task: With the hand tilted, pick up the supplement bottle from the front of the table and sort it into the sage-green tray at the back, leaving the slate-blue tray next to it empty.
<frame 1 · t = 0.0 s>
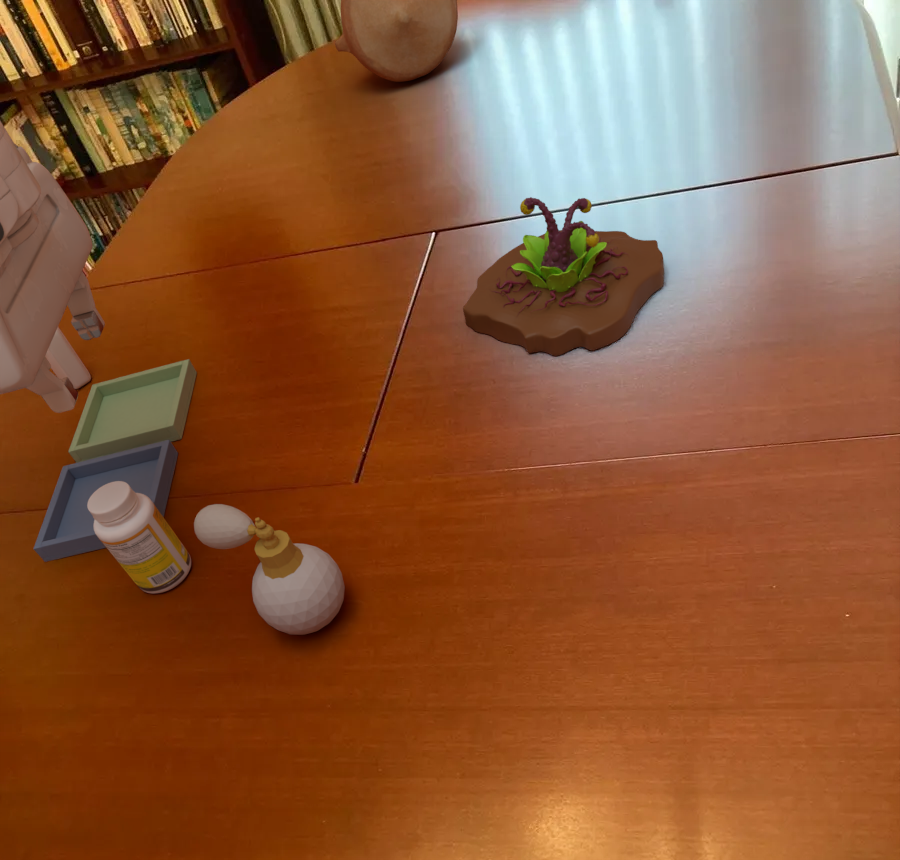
hand: (82, 368, 67), 21 cm above the table, tool pointing down, fingers open, 8 cm apart
perfume bottle: (302, 618, 75), on the table
eye dropper bottle: (77, 380, 111), on the table
plant: (564, 299, 96), on the table
supplement bottle: (167, 575, 83), on the table
green tray: (139, 417, 102), on the table
blue tray: (113, 505, 92), on the table
jug: (411, 63, 154), on the table
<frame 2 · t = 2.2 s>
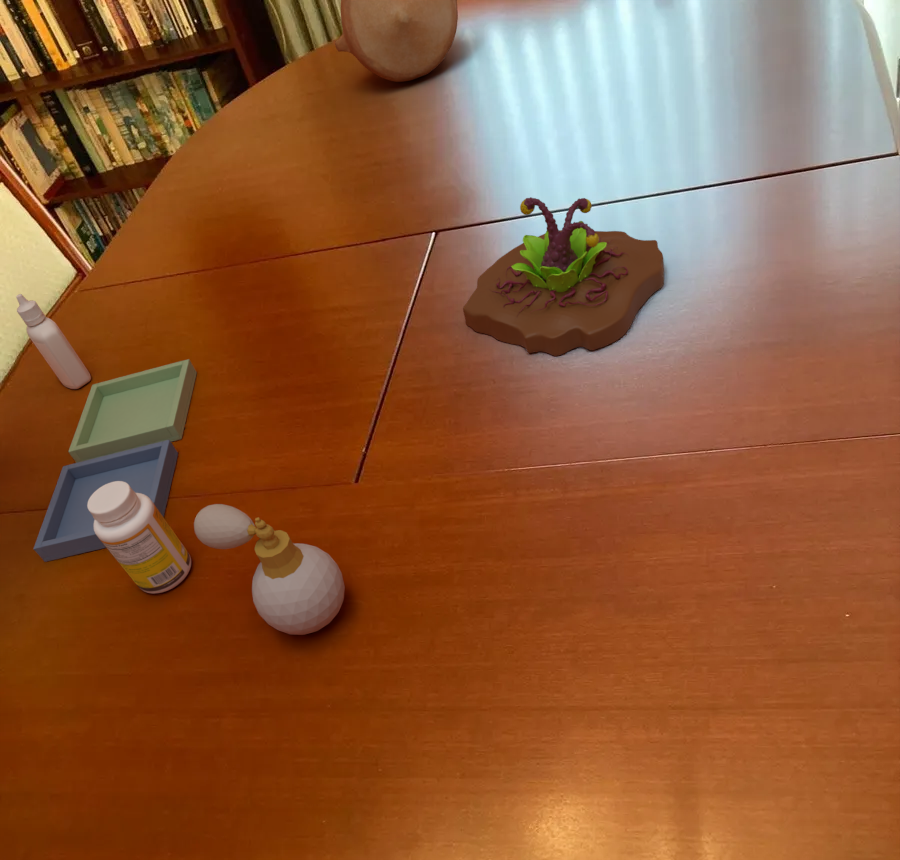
nothing on the table moved.
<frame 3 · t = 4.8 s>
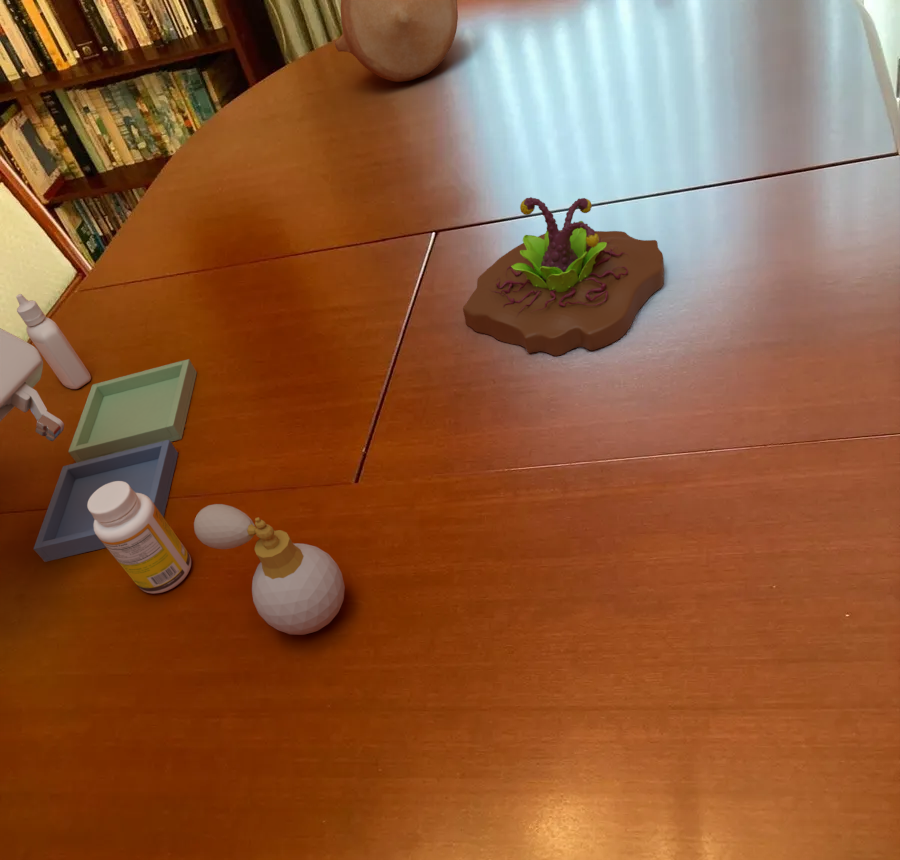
hand: (27, 468, 77), 13 cm above the table, tool tilted 45°, fingers open, 8 cm apart
nothing on the table moved.
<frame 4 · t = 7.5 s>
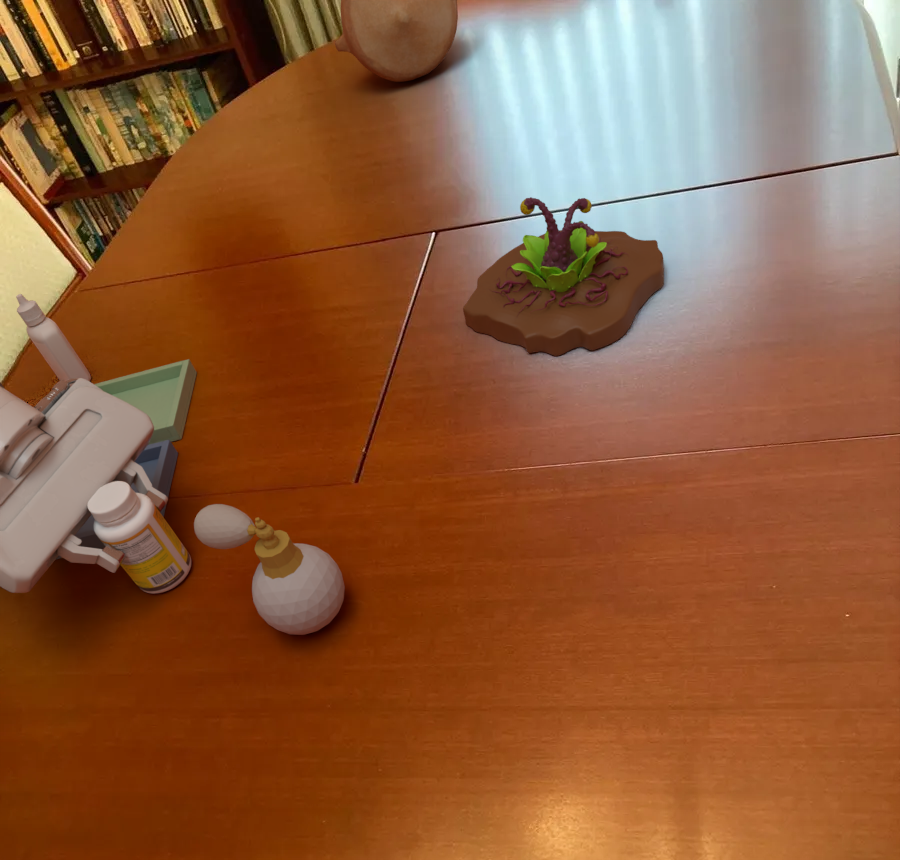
hand: (142, 535, 78), 5 cm above the table, tool tilted 45°, fingers closed on supplement bottle, 5 cm apart
supplement bottle: (167, 575, 83), on the table, touching gripper
everything else where it was.
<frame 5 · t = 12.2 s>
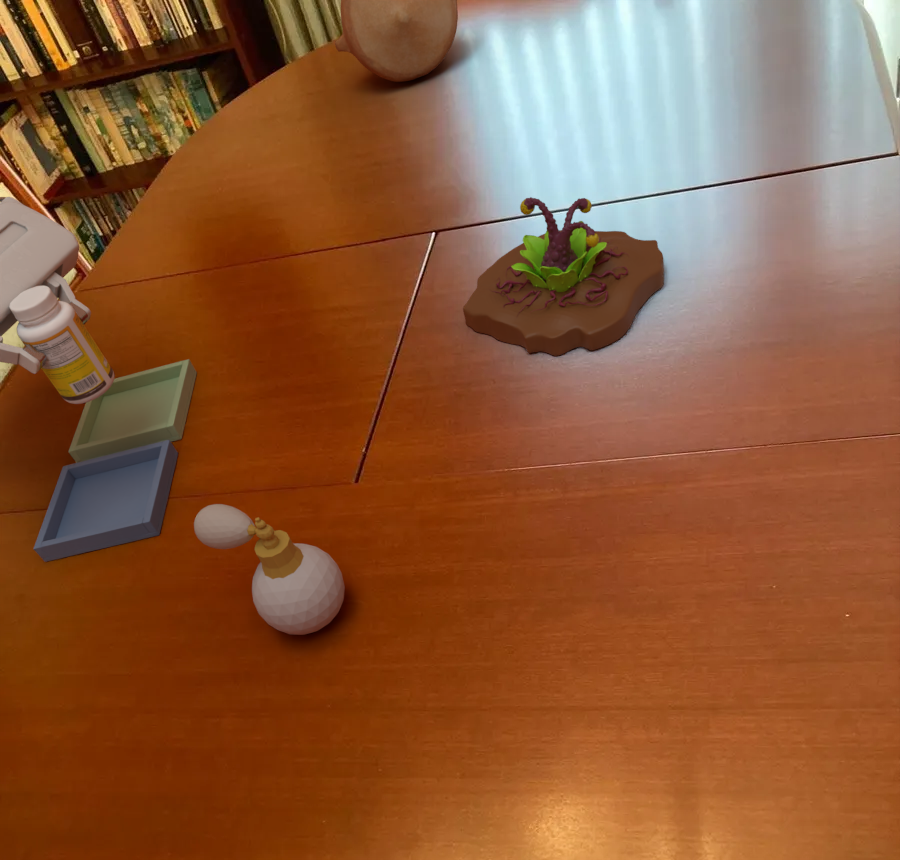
hand: (64, 342, 83), 16 cm above the table, tool tilted 45°, fingers closed on supplement bottle, 5 cm apart
supplement bottle: (91, 390, 87), point 11 cm above the table, touching gripper
everything else where it was.
when the fingers open (6 cm above the table, at t = 16.8 s): supplement bottle stays where it is, resting on green tray.
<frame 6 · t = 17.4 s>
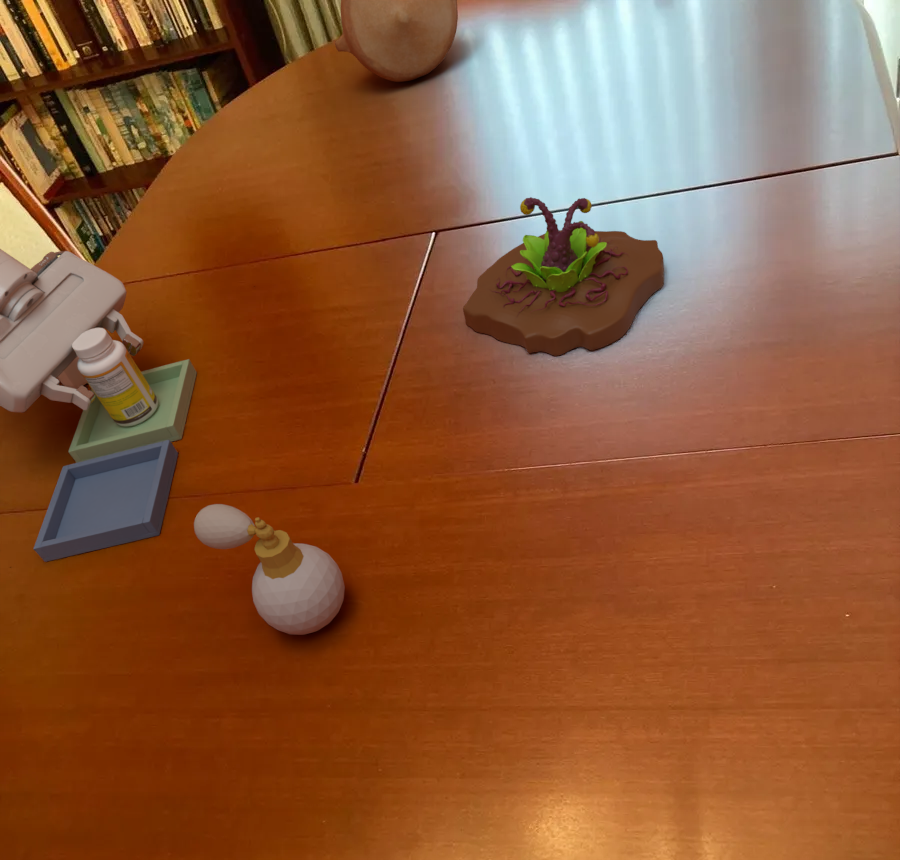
hand: (116, 375, 97), 6 cm above the table, tool tilted 45°, fingers open, 8 cm apart
supplement bottle: (138, 414, 102), resting on green tray
everything else where it was.
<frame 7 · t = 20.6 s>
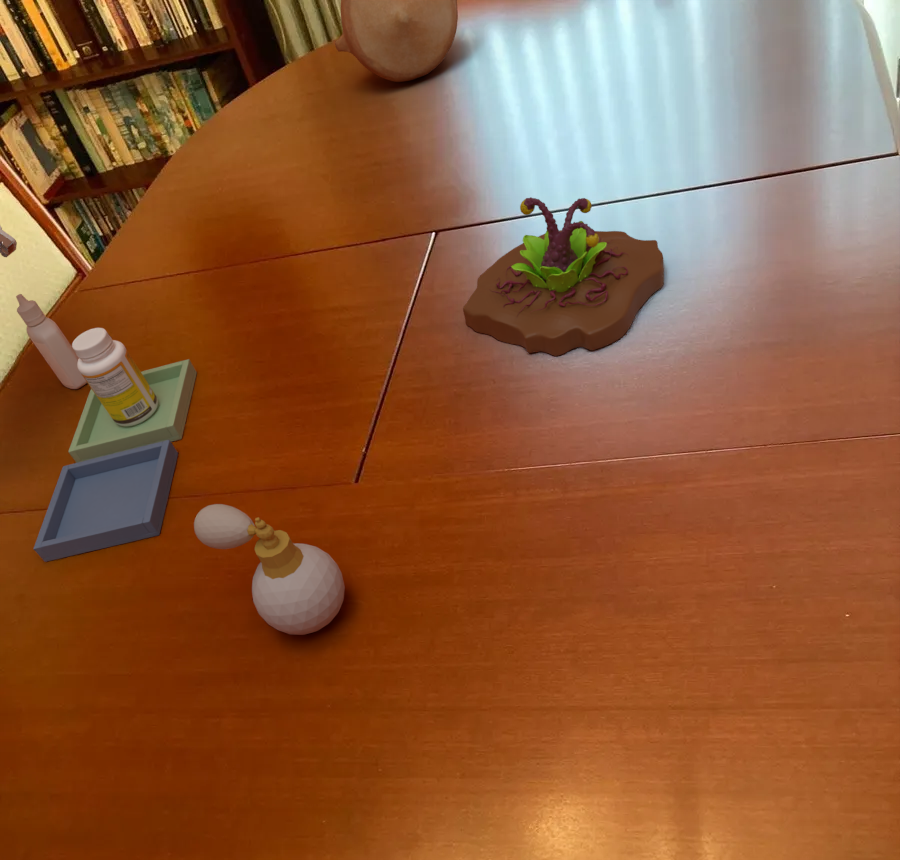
nothing on the table moved.
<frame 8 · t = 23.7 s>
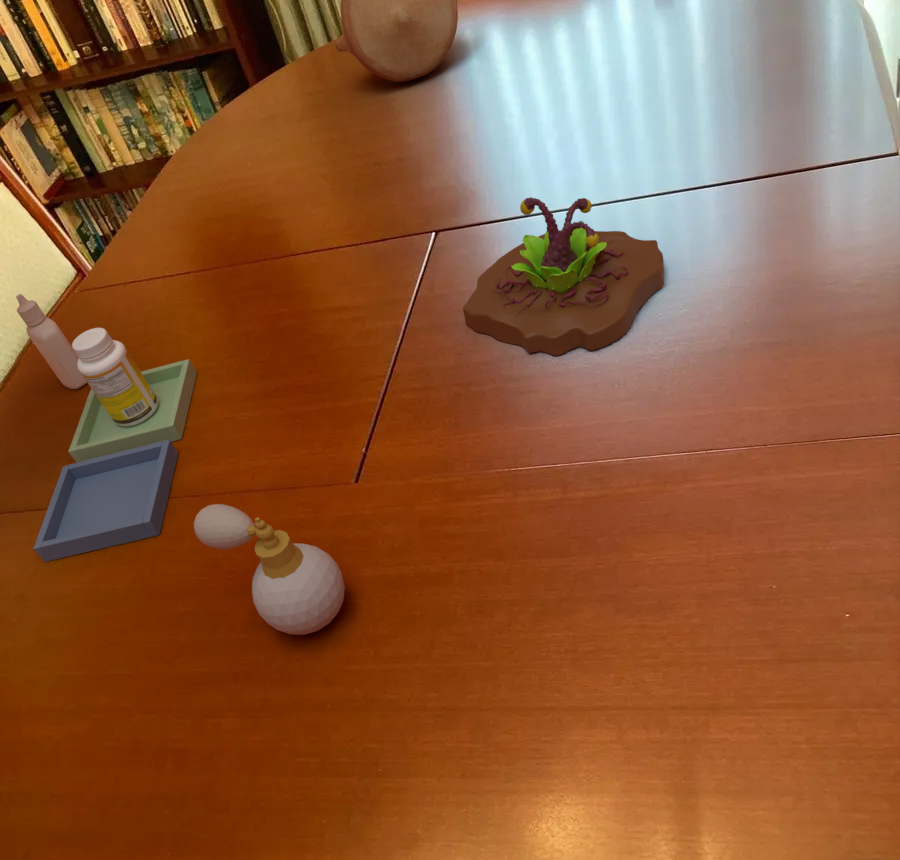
nothing on the table moved.
at the end: supplement bottle inside the target area in the green tray (0.1 cm from its centre), point 0.3 cm above the green tray's base; supplement bottle tilted 0°; the gripper is holding nothing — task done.
